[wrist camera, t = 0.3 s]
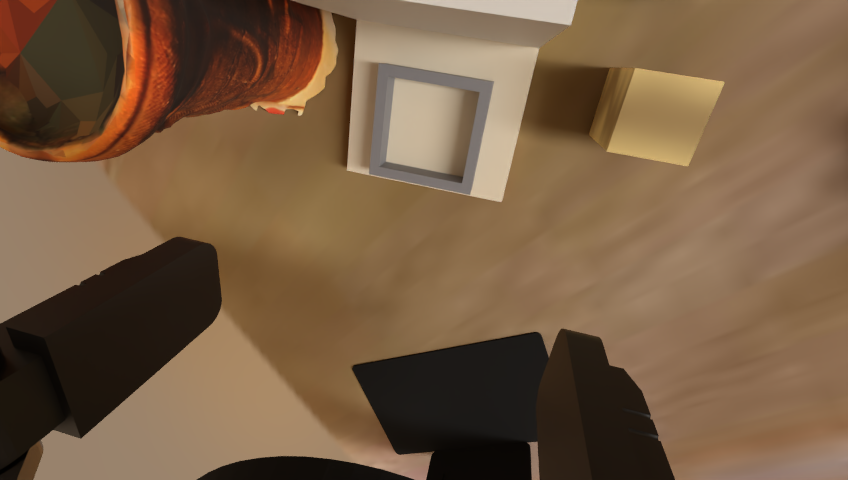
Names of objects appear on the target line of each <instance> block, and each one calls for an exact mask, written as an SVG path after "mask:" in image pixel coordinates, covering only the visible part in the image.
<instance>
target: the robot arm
mask: <svg viewBox="0 0 848 480" xmlns="http://www.w3.org/2000/svg"><path fill="white" fill-rule="evenodd" d="M221 302H222V297H221V288H220V279H219V269H218V260H217V252H216V249H215V248H214V246H213V245H211V244H208V243H204V242H200V241H196V240H192V239H187V238H183V237H175V238H172V239H170V240H169V241H167V242H165V243H163V244H161V245H159V246H157V247H155V248H153V249H152V250H150V251H148V252H146V253H144V254H142V255H139V256H135V257H132V258H129V259H125V260H123V261H121V262H119V263H117V264H115V265H113V266H111V267H109V268H107V269H105V270H103V271H101V272H100V275H96V274H95V275H94V276H92V277H90V278H88V279H86V280H84V281H82V282H81V284H80V285H79V286H78V285H74V286H72V287H71V288H68V289H66V290H65V291H63V292H61V293H59V294H57V295H55V296H53V297H51V298H49V299H47V300H45V301H43V302H41V303H39V304H37V305H35V306H34V307H32V308H30V309H28V310H26V311H24V312H22V313H20V314H18V315H16V316H14V317H12V318H10V319H9V320H7V321H5V322H3V323H1V324H0V480H33V479H34V476H35V473H36V471H37V468H38V465H39V463H40V460H41V457H42V454H43V445H42V442H41V439H42V438H43V437H45V436H46V435H47V434H48V433H50V432H51V431H52V430H56V431H59V432H62V433H65V434H68V435H72V436H74V437H78V438H82V437H83V436H84V435H85V434H87V433H88V432H89V431H90V430H91V429H92V428H93V427H95V426H96V425H97V424H98V423H99V422H100V421H102V420H103V419H104V418H105V417H106V416H107V415H108V414H110V413H111V412H112V411H113V410H114V409H115V408H116V407H118V406H119V405H120V404H121V403H122V402H123V401H124V400H125V399H126V398H128V397H129V396H130V395H131V394H132V393H133V392H135V391H136V390H137V389H138V388H139V387H140V386H141V385H143V384H144V383H145V382H146V381H147V380H148V379H149V378H151V377H152V376H153V375H154V374H155V373H156V372H157V371H159V370H160V369H161V368H162V367H163V366H164V365H165V364H167V363H168V362H169V361H170V360H171V359H172V358H173V357H175V356H176V355H177V354H178V353H179V352H180V351H181V350H183V349H184V348H185V347H186V346H187V345H188V344H189V343H190V342H192V341H193V340H194V339H195V338H196V337H197V336H198V335H200V334H201V333H202V332H203V331H204V330H205V329H206V328H208V327H209V326H210V325H211V324H212V323H213V321H214V320H215V319H216V317H217V315H218V313H219V311H220V308H221ZM650 416H651V414H650V412H649V409H648V406H647V404H646V401H645V398H644V396H643V393H642V391H641V390H640V388H639V387H638V386H637V385H636V384H635V382H634V381H633V380H632V379H631V377H630V376H629V375H628V374H627V372H626V371H625V370H624V369H622V368H618V367H614V366H610V365H609V363H608V359H607V356H606V353H605V349H604V346H603V343H602V340H601V339H600V338H599V337H596V336H592V335H588V334H583V333H579V332H575V331H571V330H567V329H561V330H560V331H559V333H558V335H557V338H556V340H555V343H554V346H553V348H552V351H551V354H550V357H549V360H548V362H547V365H546V368H545V371H544V373H543V376H542V379H541V382H540V385H539V389H538V394H537V402H536V421H537V439H538V457H539V475H540V480H675V478H674V476H673V473H672V470H671V468H670V465H669V462H668V460H667V457H666V454H665V452H664V449H663V446H662V444H661V441H658V433H657V430H656V428H655V425H654V422H653V420H651V419H650Z"/></svg>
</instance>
